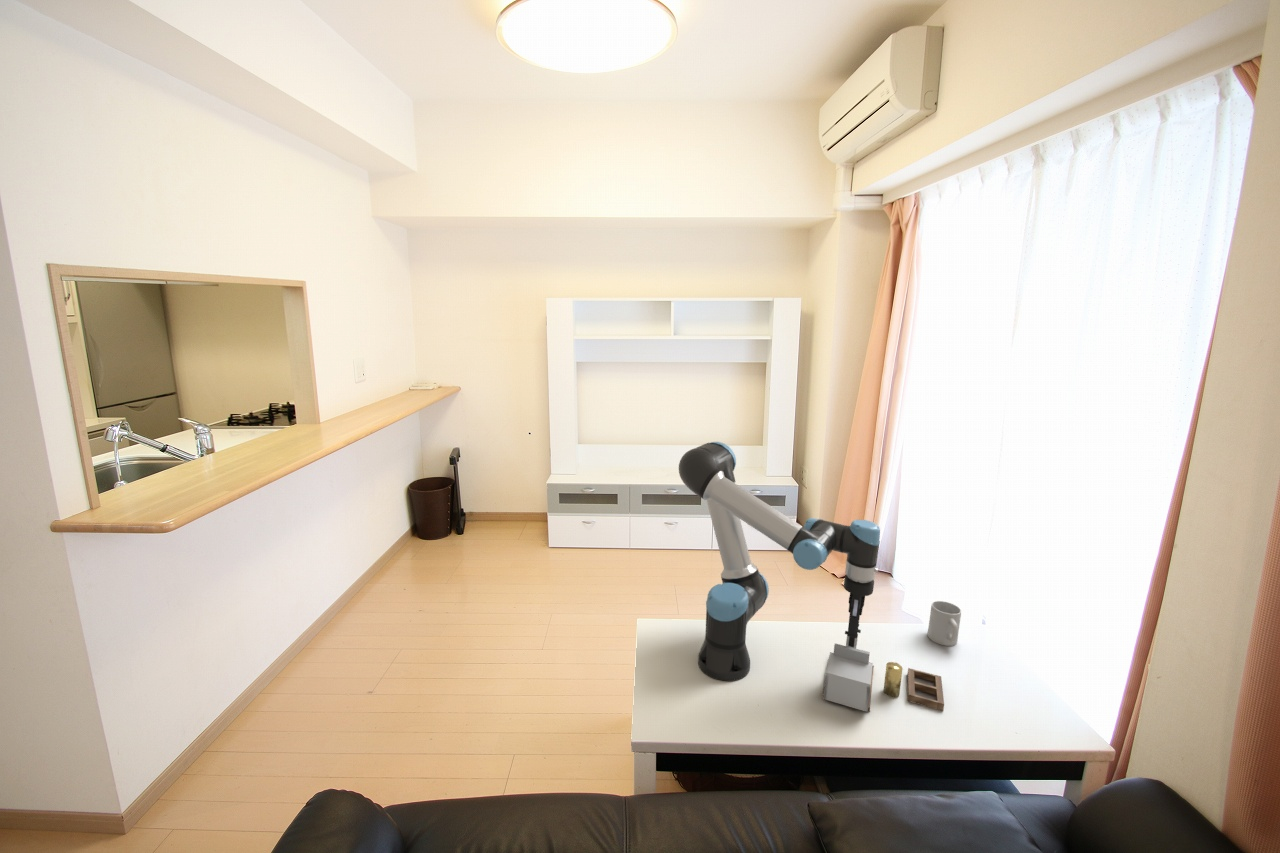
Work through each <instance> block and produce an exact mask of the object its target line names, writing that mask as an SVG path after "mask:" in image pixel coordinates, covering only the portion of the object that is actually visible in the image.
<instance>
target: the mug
mask: <svg viewBox="0 0 1280 853" xmlns="http://www.w3.org/2000/svg"><path fill="white" fill-rule="evenodd" d="M961 617H962V609H961V608H960V607H958V605H956V604H954V603H950V602H948V601H943V600H937V601H932V603H931V607H930V614H929V620H928V628H927V636H928V638H929V640H931V641H932V642H934V643H935V644H939V645H940V646H945V647H946V646H947V647H953V646H955V645H957V643H958V638H959V630H960V624H961Z"/></svg>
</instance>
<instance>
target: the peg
mask: <svg viewBox="0 0 1280 853" xmlns="http://www.w3.org/2000/svg"><path fill="white" fill-rule="evenodd" d="M903 670H904V669H903V666H902V665H901V664H900V663H897V662H895V661H894V662H893V661H889V662H887V663H886V665H885V675H884V684H883V690H882V691H883V693H884V694H885V695H886V696H888V697H890V698H894V699H895V698H898V697H900V692H901V684H902V677H903V676H902V675H903Z"/></svg>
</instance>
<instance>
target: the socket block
mask: <svg viewBox="0 0 1280 853" xmlns="http://www.w3.org/2000/svg"><path fill="white" fill-rule="evenodd" d="M907 701H908V702H909V703H912V704H913V703H914V704H917V705H920V706H925V707H928V708H931V709H935V710H938V711H942V712H944V708H945V700H944V688H943V681H942V676H940V675H937V674H933V673H930V672H925V671H921V670H917V669H913V668H909V667H908V668H907Z"/></svg>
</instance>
